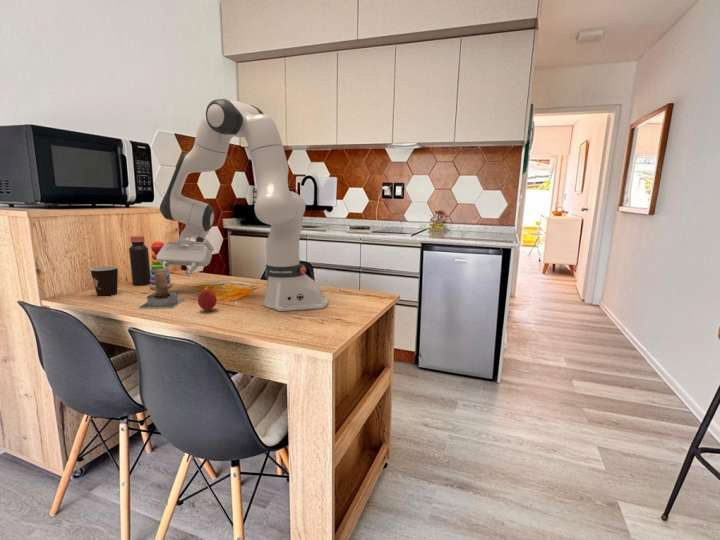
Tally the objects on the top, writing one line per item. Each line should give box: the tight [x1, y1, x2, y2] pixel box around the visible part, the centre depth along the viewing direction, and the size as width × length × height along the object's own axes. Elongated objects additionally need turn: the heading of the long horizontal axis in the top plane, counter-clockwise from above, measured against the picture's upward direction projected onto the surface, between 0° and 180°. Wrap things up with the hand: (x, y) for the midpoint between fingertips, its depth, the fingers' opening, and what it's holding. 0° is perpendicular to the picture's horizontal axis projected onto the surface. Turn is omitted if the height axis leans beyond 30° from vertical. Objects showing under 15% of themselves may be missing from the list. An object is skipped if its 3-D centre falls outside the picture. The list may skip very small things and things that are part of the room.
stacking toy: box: [149, 240, 172, 290], centre depth 157 cm, size 8×8×19 cm
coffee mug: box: [90, 265, 119, 297], centre depth 148 cm, size 12×9×10 cm
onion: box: [197, 286, 218, 312], centre depth 129 cm, size 6×6×8 cm
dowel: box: [153, 268, 169, 298], centre depth 136 cm, size 4×4×12 cm
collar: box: [138, 291, 186, 309], centre depth 137 cm, size 11×11×3 cm
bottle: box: [128, 235, 151, 287], centre depth 162 cm, size 7×7×20 cm
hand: (176, 273), depth 144 cm, fingers open, 8 cm apart
